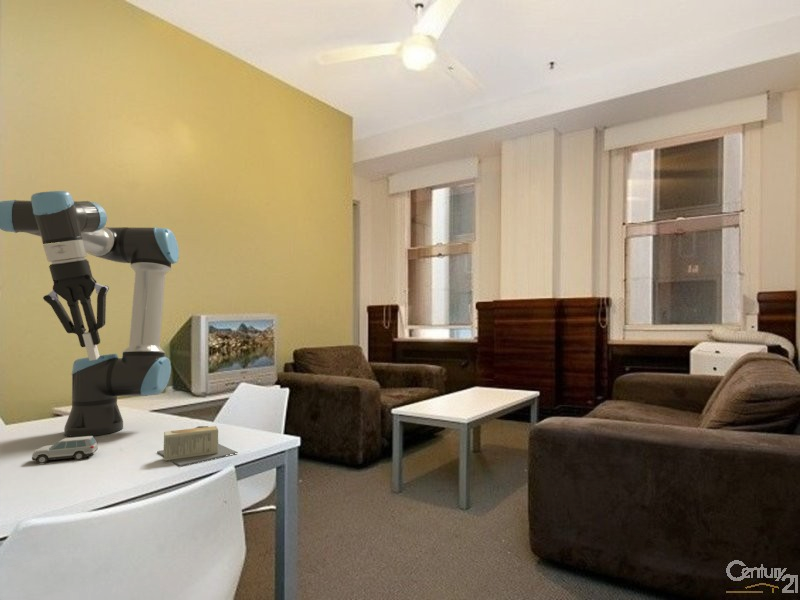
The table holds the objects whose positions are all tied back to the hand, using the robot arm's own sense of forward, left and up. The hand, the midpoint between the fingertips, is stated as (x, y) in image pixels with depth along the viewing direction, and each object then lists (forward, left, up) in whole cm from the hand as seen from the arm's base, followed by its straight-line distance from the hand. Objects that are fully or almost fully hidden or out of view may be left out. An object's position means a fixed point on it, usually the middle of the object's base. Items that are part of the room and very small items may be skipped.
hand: (94, 358), depth 111 cm
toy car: (-11, -4, -25) cm, 28 cm away
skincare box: (+9, +13, -21) cm, 26 cm away
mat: (+9, +21, -25) cm, 34 cm away
